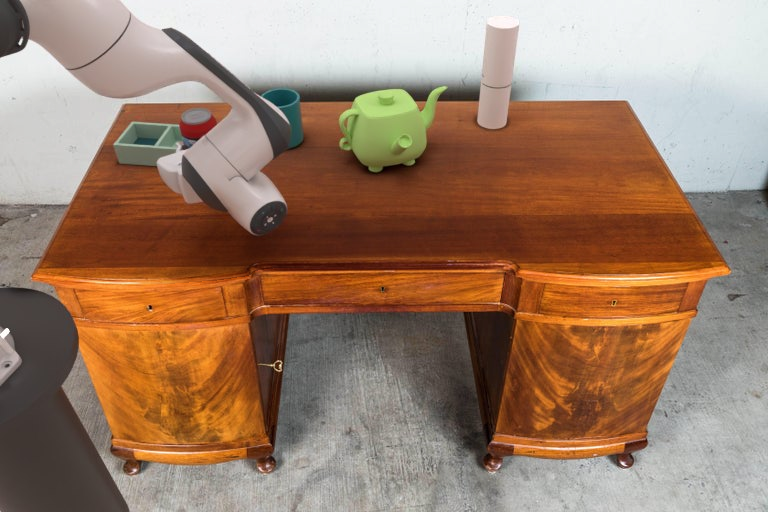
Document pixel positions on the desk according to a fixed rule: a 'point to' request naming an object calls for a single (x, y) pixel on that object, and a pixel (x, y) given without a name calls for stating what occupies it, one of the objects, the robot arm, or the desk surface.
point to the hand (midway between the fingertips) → (199, 138)
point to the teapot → (387, 127)
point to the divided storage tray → (147, 143)
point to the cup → (288, 111)
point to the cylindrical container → (497, 71)
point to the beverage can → (196, 125)
